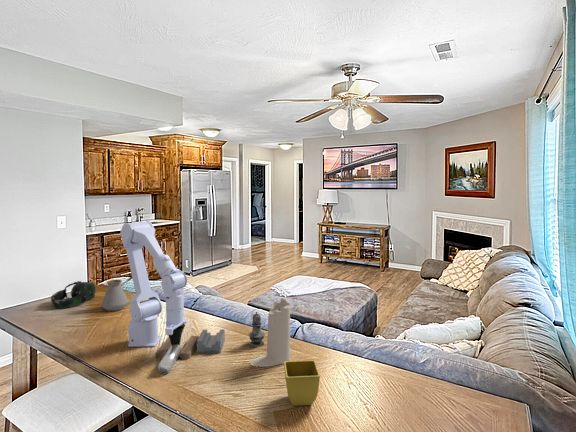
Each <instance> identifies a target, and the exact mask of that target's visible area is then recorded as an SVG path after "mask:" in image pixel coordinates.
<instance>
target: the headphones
mask: <svg viewBox="0 0 576 432" xmlns="http://www.w3.org/2000/svg"><path fill="white" fill-rule="evenodd" d="M70 286H72V287H71V291H70V295H71V297H68V293H67V288H69V287H70ZM95 296H96V285H95V283H94V282H88V281H80V280H78V281H74V282H73V283H69V284H68V285H67V286H65V287H64V289H60V290H58V291H57V292H55V293H53V294H52V295H51V296H50V301H51V304H52V306H53V307H54V309H59V310H60V309H61V310H62V309H66V308H71V307H75V306H78V305H82V304H85V303H87V302H89V301H91V300H92V299H93V298H95Z"/></svg>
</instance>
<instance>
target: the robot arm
mask: <svg viewBox="0 0 576 432" xmlns="http://www.w3.org/2000/svg"><path fill="white" fill-rule="evenodd" d="M155 234H156V228H155V227H154V225H153V223H152V222H151V221H150V220H149V221H148V220H147V221H140V222H130V223H129V222H125V223H124V224H123V225H122V227H121V229H120V236H121V241H122V245H123V247H124V248H125V251H126V255H127V260H128V263H129V265H128V266H129V270H130V274H131V276H132V282H133V287H134V291H135V294H134V296H133V297H132V298H131V299H129V304H130V307H129V314H130V317H131V319H130V321H129V322H128V323H129V324H128V347H129V348H131V347H136V348H137V347H138V348H139V347H155V346H156V345H157V344H158V343H159V342H160V340H161V339H162V335H159V333H158V332H159V331H158V318H159V317H160V314H161V313H162V310H163V304H162V301H161V299H160V297H159V294H158V293H157V292H156V291H153V290H152V288H151V285H150V281H149V276H148V270H147V266H146V262H145V258H144V253H143V247H145V249H146V250H147V251H148V253H149V254H150V255H151V257H152V258H153V264H152V265H153V266H154V268H155V269H156V272H157V273H158V275H159V276H160V278H161V283H160V284H161V287H162V290H163V295H164V297H165V313H166V314H165V336H168V337H169V338H170V341H171V345H173V344H178V345H180V346H181V340H182V335H183V331H184V329H185V327H186V324H187V323H188V319H185V308H184V307H185V306H184V305H185V304H184V296H185V295H184V288H185V287H186V286H187V285H188V284H187V283H188V278H187V276H186V273H185V272H184V271H183V270H180V268H177V267H176V266H175V264H174V262H173V260H172V258H170V256H169V255H168V254H164V252H163V251H162V248H161V246H160V244H159V242H158V240H157V237H156V236H155Z"/></svg>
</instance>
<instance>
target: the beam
mask: <svg viewBox="0 0 576 432" xmlns="http://www.w3.org/2000/svg"><path fill="white" fill-rule="evenodd" d="M199 336H200V335H190V337H189V338H188V340H187V342H186V343H185V345H184V347H182V351H181V353H180V355H179V356H180V360H187V358H189V359H190V358H191V357H192V355H193V353H194V351H195V349H196V348H197V340H198V338H199ZM171 346H172V345H171V341H170V338H169V336H168V337H167V338H166V340H165V341H164V342H163V344H162V345H161V346H160V347H159V349H158V350H157V352H156V353H155V354H156V355H155V359H156V360H162V359H163V357H164V356H165V354H166V353H167V351H168V350H169V348H170V347H171ZM189 359H188V360H189Z"/></svg>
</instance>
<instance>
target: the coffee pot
mask: <svg viewBox="0 0 576 432" xmlns="http://www.w3.org/2000/svg"><path fill="white" fill-rule="evenodd" d="M131 280H133V278H132V275H131V276H130V277H129V278H127V280H125V281H122V279H111V280H107V281H106V284H107V286H108V287H107V289H106V291H105V294H104V296H103V299H102V301H101V305H100V306H101V307H102V308H103V309H104V310H105V311H107V312H118V311H121V310H123V309H125V307H127V305H128V304H129V298H128V297H127V294H126V293H125V291H124V289H123V286H124V285H125V284H127V283H128V282H129V281H131Z"/></svg>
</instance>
